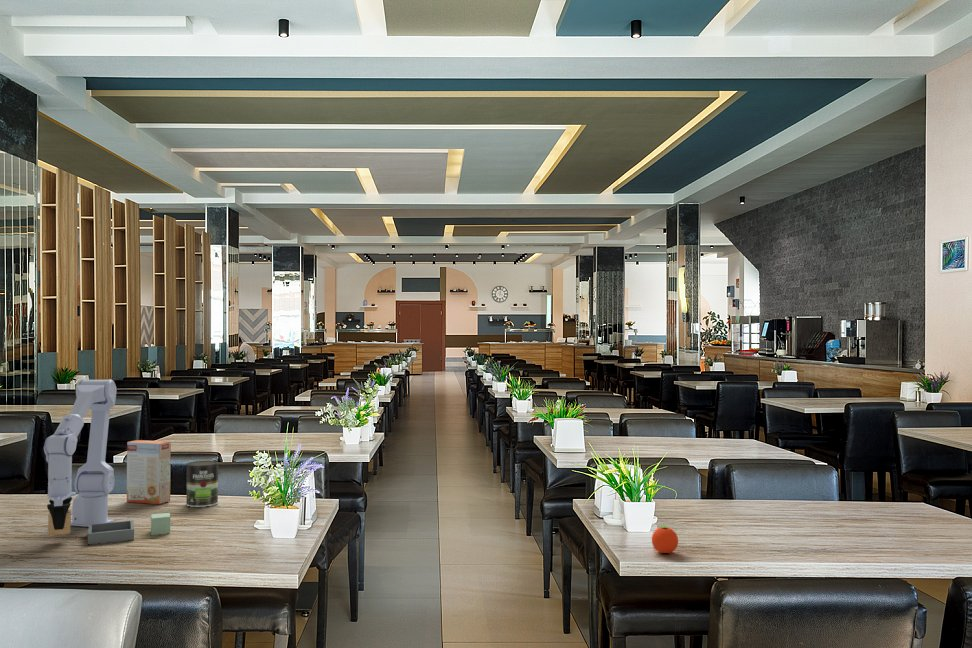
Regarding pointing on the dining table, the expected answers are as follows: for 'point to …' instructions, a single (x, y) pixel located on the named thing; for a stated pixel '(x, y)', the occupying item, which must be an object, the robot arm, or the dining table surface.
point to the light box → (160, 523)
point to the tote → (111, 532)
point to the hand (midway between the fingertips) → (59, 526)
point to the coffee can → (202, 483)
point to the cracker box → (148, 471)
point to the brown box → (62, 531)
